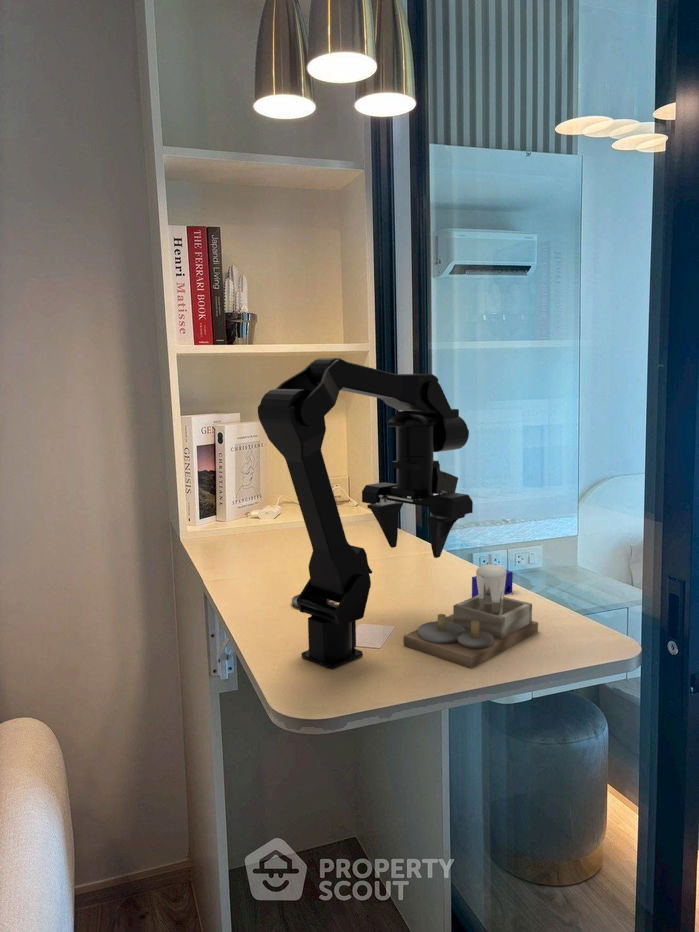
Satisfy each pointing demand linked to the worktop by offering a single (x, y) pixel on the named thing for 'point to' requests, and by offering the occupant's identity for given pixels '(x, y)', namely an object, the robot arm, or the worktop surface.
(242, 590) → the worktop surface
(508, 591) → the cable holder
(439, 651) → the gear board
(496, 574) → the milkshake
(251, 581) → the worktop surface
